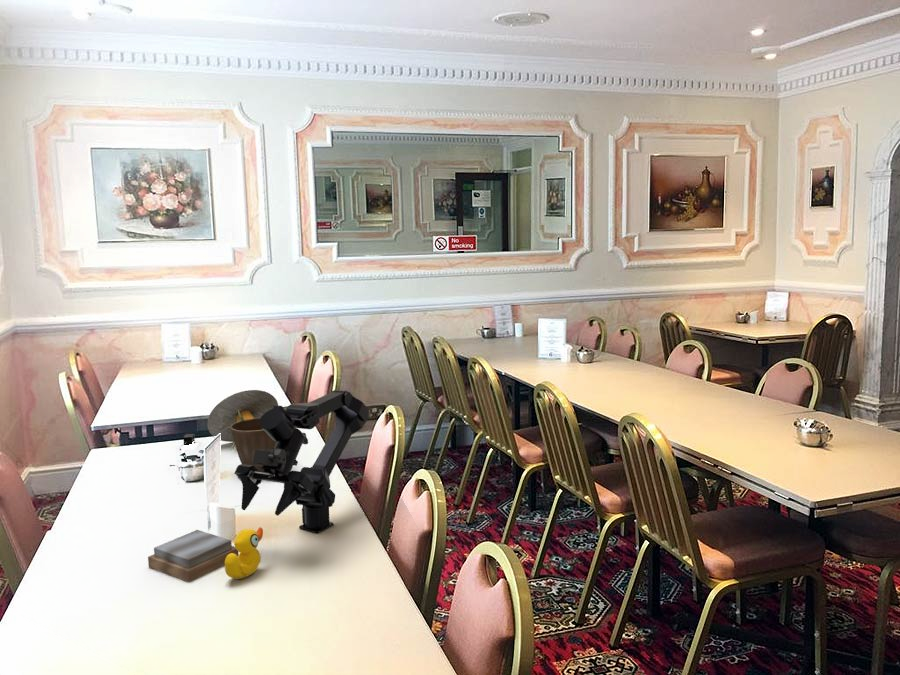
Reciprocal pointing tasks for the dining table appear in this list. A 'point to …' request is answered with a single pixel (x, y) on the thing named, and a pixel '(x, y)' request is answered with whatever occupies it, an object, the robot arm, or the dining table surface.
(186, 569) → the metal-topped wooden square
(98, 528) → the dining table surface
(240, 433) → the plant pot
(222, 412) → the grey brimmed hat
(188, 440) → the black block
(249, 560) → the duckling
